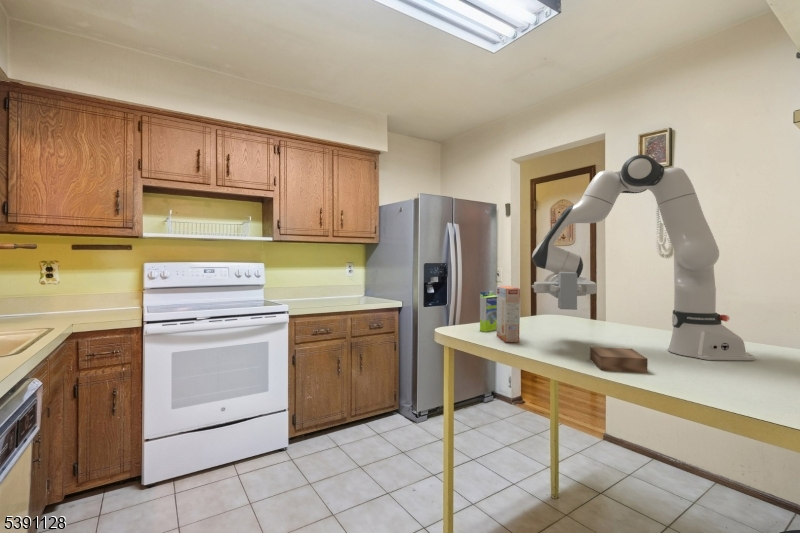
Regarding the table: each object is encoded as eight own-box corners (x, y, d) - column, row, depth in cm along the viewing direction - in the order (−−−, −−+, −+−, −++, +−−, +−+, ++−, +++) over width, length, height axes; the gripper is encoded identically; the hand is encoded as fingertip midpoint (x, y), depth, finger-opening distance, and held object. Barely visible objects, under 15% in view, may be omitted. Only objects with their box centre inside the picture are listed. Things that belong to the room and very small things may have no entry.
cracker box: (520, 343, 145) (520, 288, 145) (504, 343, 145) (504, 288, 145) (510, 335, 159) (510, 285, 159) (496, 335, 159) (496, 285, 159)
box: (486, 332, 166) (486, 292, 166) (478, 331, 170) (478, 292, 169) (500, 329, 174) (500, 291, 173) (492, 328, 177) (492, 290, 176)
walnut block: (631, 361, 119) (631, 348, 119) (647, 372, 107) (647, 358, 107) (589, 359, 122) (590, 346, 122) (600, 370, 110) (600, 356, 110)
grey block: (573, 307, 130) (573, 272, 130) (577, 309, 125) (577, 273, 125) (558, 307, 131) (558, 272, 131) (560, 309, 126) (560, 273, 126)
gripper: (530, 277, 143) (535, 279, 130) (590, 277, 138) (601, 280, 125) (530, 294, 143) (535, 298, 130) (590, 295, 139) (601, 299, 125)
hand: (568, 289), depth 127 cm, fingers closed on grey block, 5 cm apart
